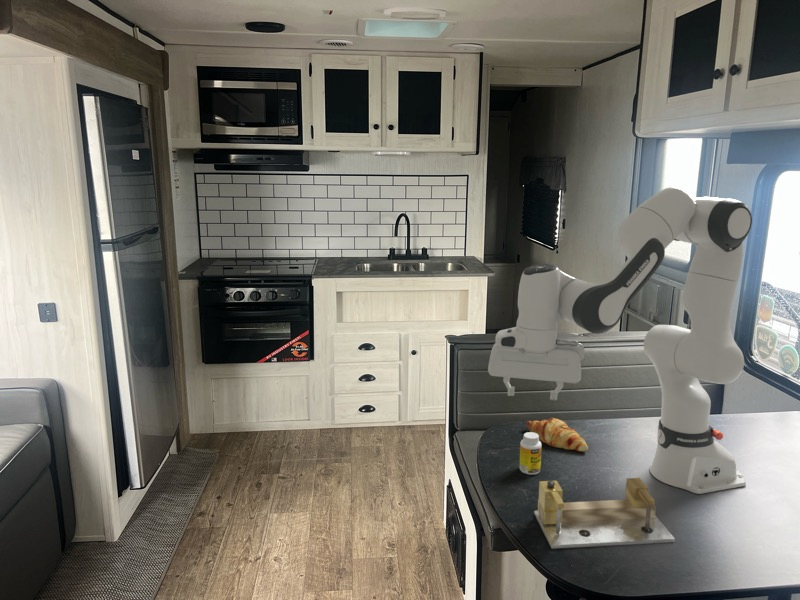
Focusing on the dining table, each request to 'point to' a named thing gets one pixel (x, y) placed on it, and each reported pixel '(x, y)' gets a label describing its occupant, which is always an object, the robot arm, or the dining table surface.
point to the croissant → (557, 434)
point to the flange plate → (605, 532)
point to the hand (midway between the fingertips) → (532, 397)
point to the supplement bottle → (530, 453)
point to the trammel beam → (613, 506)
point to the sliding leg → (551, 503)
